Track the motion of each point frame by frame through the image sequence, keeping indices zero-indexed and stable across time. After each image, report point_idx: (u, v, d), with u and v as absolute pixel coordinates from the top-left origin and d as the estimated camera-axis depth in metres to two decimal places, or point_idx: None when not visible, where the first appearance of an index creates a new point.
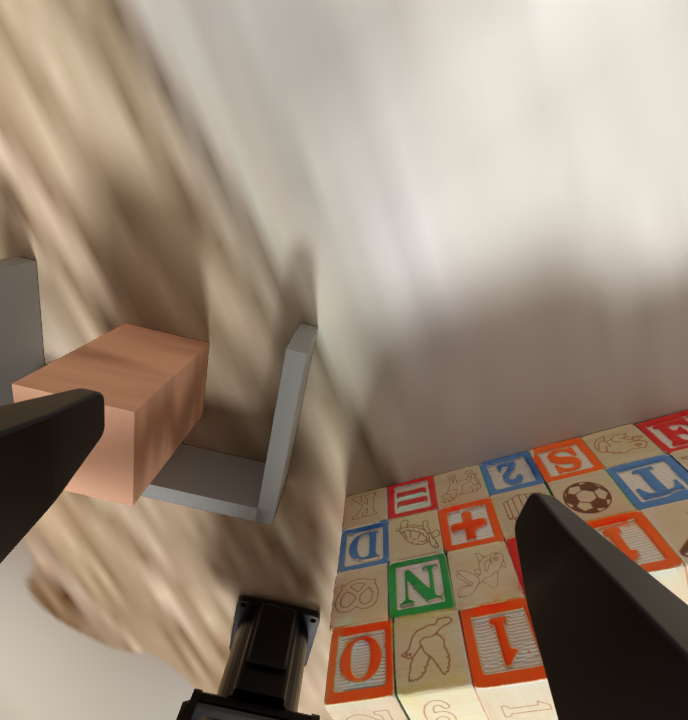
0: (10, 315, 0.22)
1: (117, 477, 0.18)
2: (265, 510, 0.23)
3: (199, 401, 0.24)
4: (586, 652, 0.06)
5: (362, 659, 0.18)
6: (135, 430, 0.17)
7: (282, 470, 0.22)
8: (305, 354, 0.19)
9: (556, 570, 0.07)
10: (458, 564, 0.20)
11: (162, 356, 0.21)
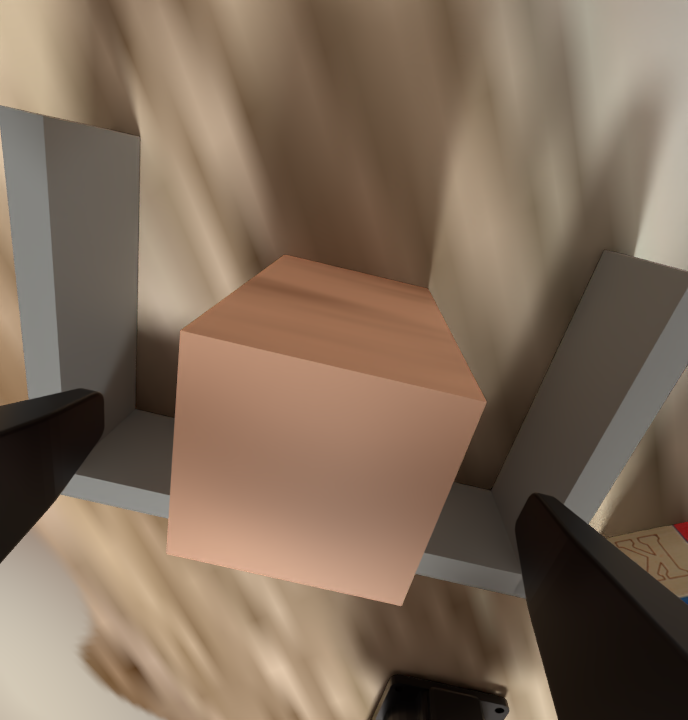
0: (100, 228, 0.12)
1: (385, 550, 0.08)
2: None
3: None
4: (586, 652, 0.06)
5: None
6: (465, 446, 0.07)
7: (593, 512, 0.12)
8: None
9: (556, 570, 0.07)
10: None
11: (392, 300, 0.11)
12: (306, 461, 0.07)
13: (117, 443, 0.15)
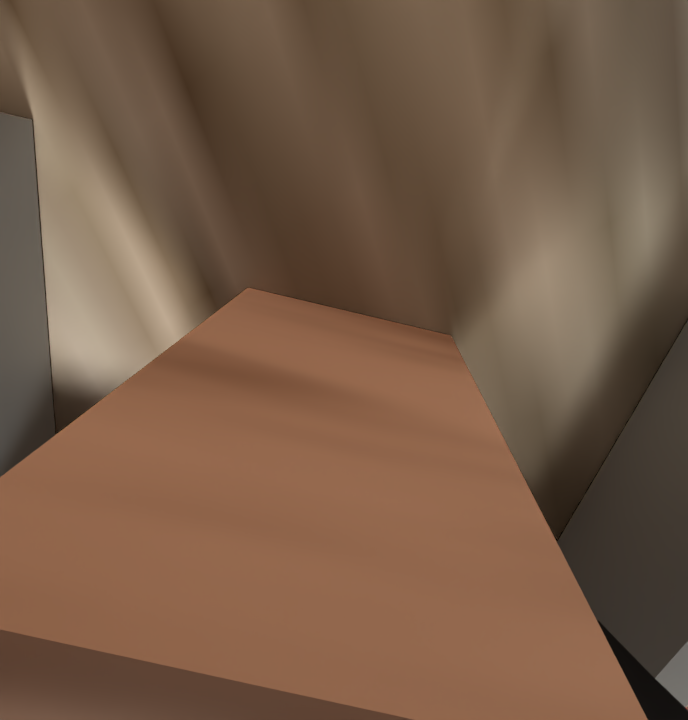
0: None
1: None
2: None
3: None
4: None
5: None
6: None
7: None
8: None
9: None
10: None
11: (403, 371, 0.07)
12: None
13: None
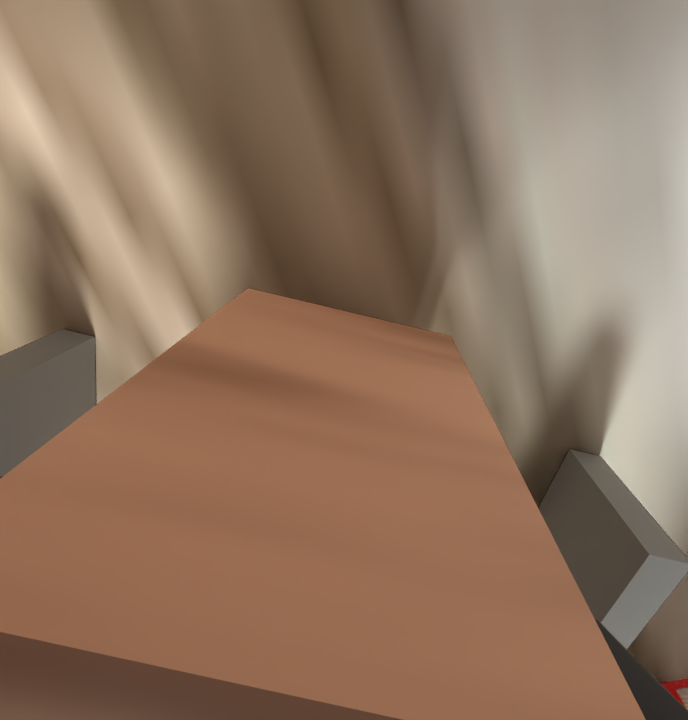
0: None
1: None
2: None
3: None
4: None
5: None
6: None
7: None
8: None
9: None
10: None
11: (403, 372, 0.07)
12: None
13: None
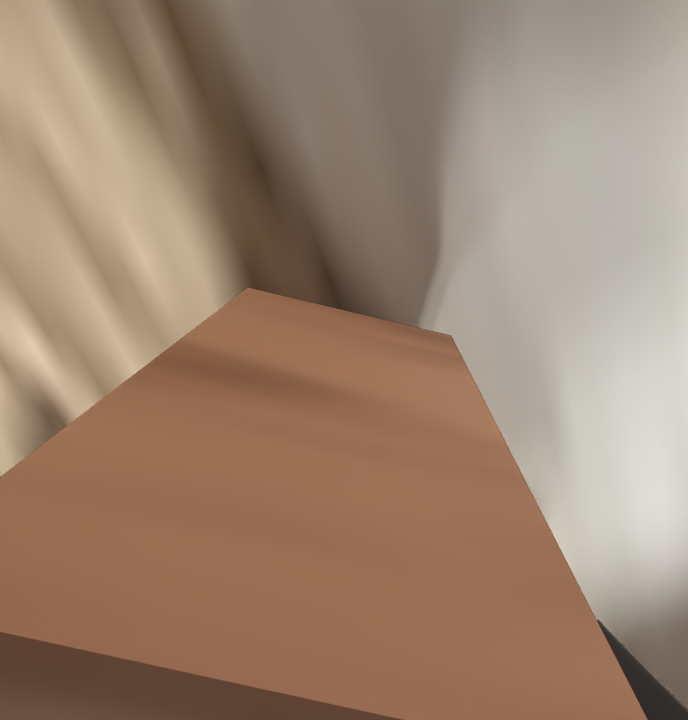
0: None
1: None
2: None
3: None
4: None
5: None
6: None
7: None
8: None
9: None
10: None
11: (403, 372, 0.07)
12: None
13: None
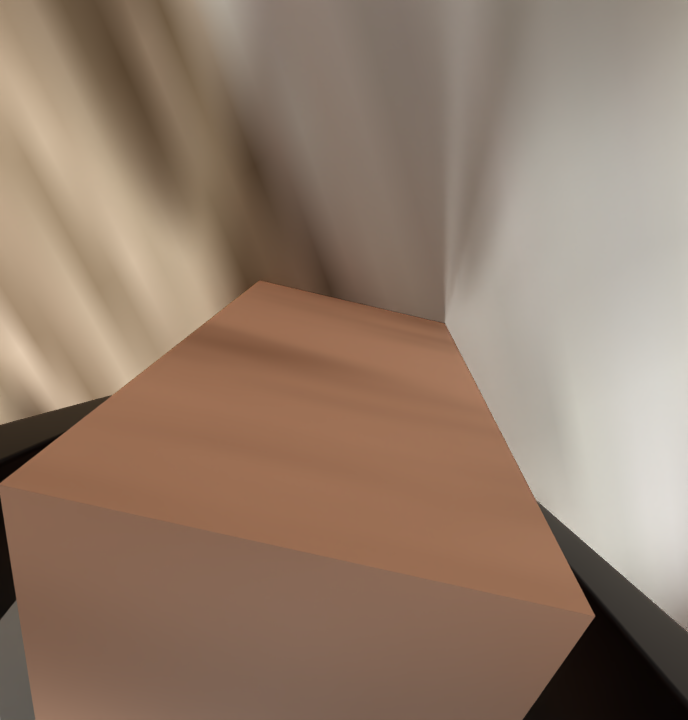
0: None
1: None
2: None
3: None
4: None
5: None
6: (543, 669, 0.04)
7: None
8: None
9: None
10: None
11: (401, 351, 0.08)
12: (257, 685, 0.04)
13: None
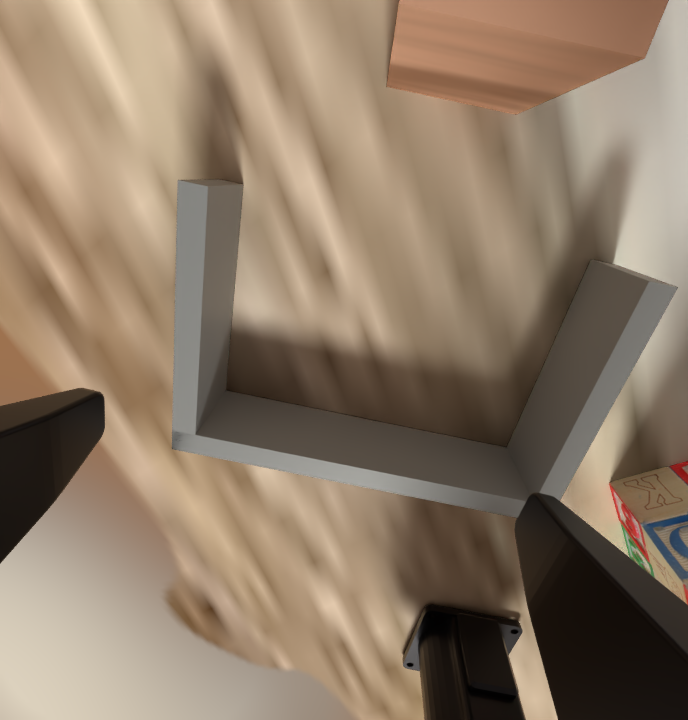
0: (222, 255, 0.16)
1: None
2: None
3: None
4: (586, 652, 0.06)
5: None
6: None
7: (584, 452, 0.17)
8: (675, 288, 0.14)
9: (556, 570, 0.07)
10: None
11: None
12: None
13: (222, 415, 0.19)
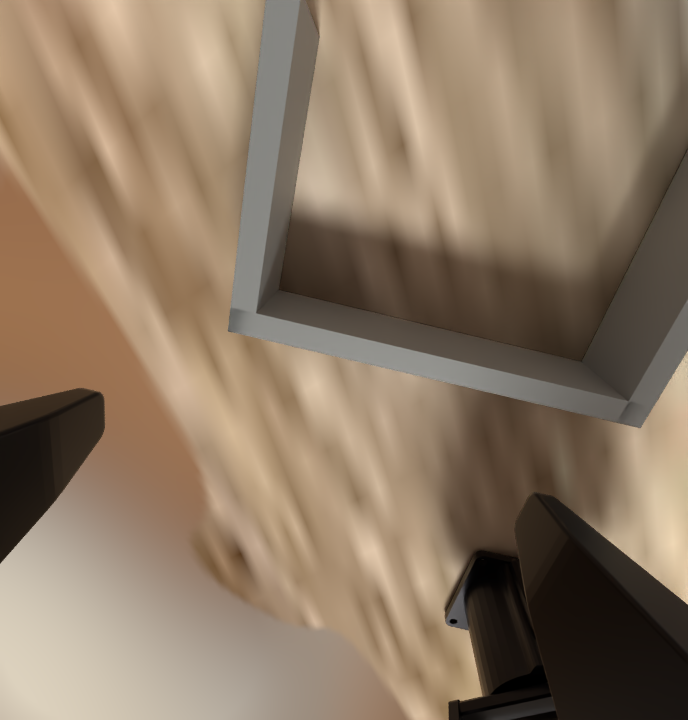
0: (298, 104, 0.15)
1: None
2: (639, 403, 0.16)
3: None
4: (586, 652, 0.06)
5: None
6: None
7: None
8: None
9: (556, 570, 0.07)
10: None
11: None
12: None
13: (280, 304, 0.17)
